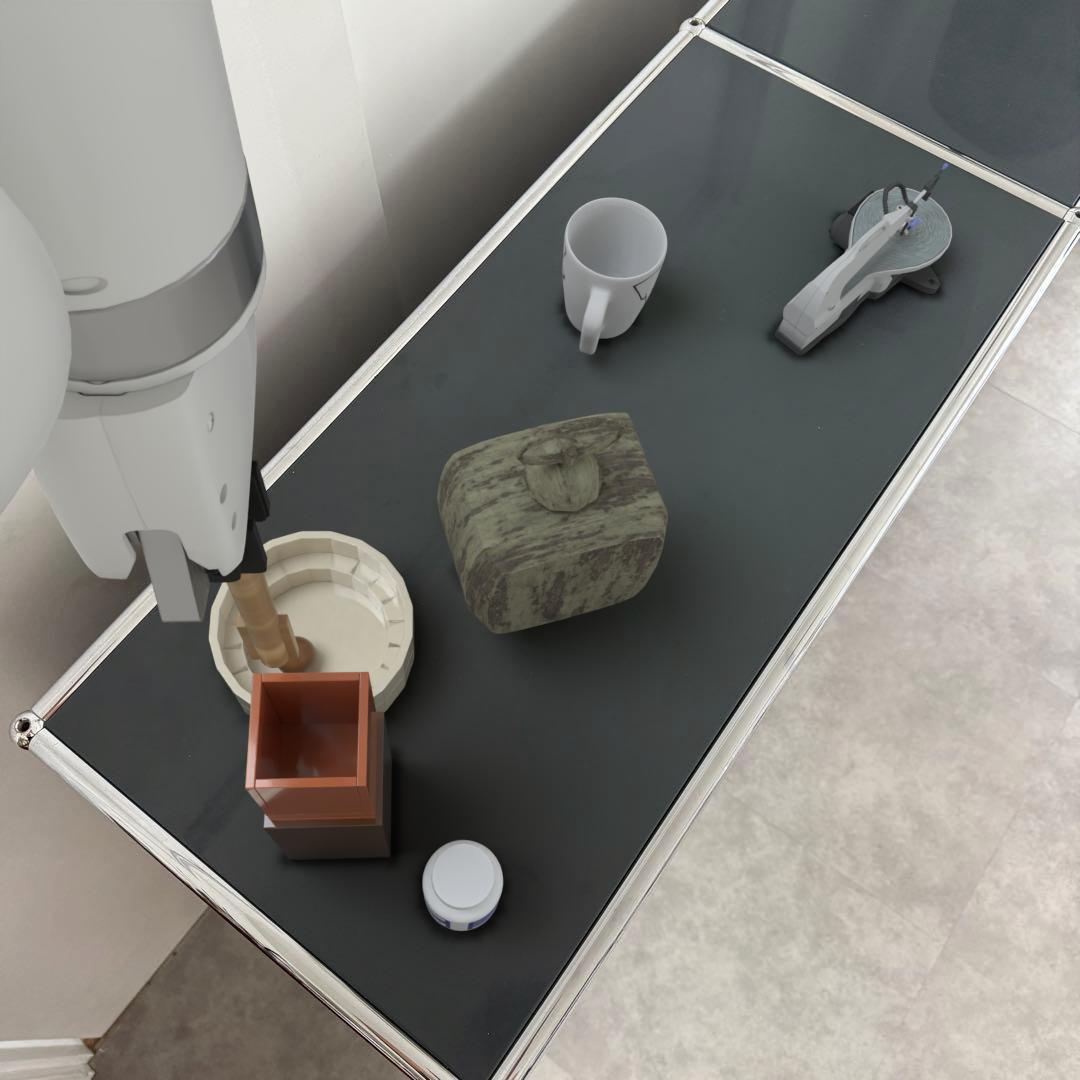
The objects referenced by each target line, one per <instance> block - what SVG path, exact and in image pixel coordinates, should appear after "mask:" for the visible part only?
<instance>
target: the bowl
mask: <svg viewBox="0 0 1080 1080" xmlns="http://www.w3.org/2000/svg"><path fill="white" fill-rule="evenodd" d="M263 546H264V549H265V552H266V555H267V571H266V572H264V575H265V578H266V581H267V584H268V587H269V590H270V592H271V595H272V598H273V601H274V604H275V607H276V610H277V612H278V615H279V614H287V615H288V617H289V620H290V623H291V626H292V629H293V632H294V635H295V636H301V637H304V638H306V639H308V640H309V641H310V642H311V643H312V644H313V645H314V647H315V649H316V653H317V659H316V663H315V665H314V667H313V668H312V670H311V671H310V672H309V673H315V672H359V673H360V672H369V676H370V681H371V687H372V692H373V697H374V703H375V708H376V712H384V713H385V712H386V711H387V710H388V709H390V707H391V705H392V704H393V703H394V701H395V700H396V698H398V697H399V695H400V694H401V692H402V691H403V690H404V688H405V687H406V684H407V681H408V678H409V675H410V673H411V669H412V666H413V665H414V661H415V620H414V618H415V617H414V605H413V602H412V599H411V597H410V594H409V591H408V588H407V585H406V582H405V580H404V578H403V576H402V575H401V574H400V573H399V571H398V570H397V569H396V567H395V566H394V565H393V563H392V562H391V561H390V560H389V558H388V557H387V556H386V555H385V554H383V553H382V552H380V551H379V550H377V549H376V548H375V547H373V546H371V545H370V544H368V543H367V542H365V541H364V540H362V539H359V538H357V537H352V536H349V535H346V534H343V533H338V532H335V531H331V530H301V531H298V532H294V533H290V534H287V535H284V536H279V537H277V538H273V539H269V541H266V542H265V543H263ZM237 616H241V615H240V613H239V610H238V608H237V606H236V604H235V601H234V599H233V597H232V595H231V592H230V590H229V588H228V585H227V583H221V585H220V587H219V589H218V592H217V594H216V596H215V599H214V601H213V603H212V605H211V609H210V617H209V627H208V642H209V645H210V650H211V653H212V656H213V661H214V665H215V667H216V670H217V672H218V673H219V675H220V677H221V679H223V681H224V683H225V684H226V687H227V688H228V690H229V692H231V694H232V696H233V697H234V698H235V700H236V701H237V702H238V704H239V705H240V707H241V709H242V710H243V712H244V713H246V715H248V716H249V717H250V707H251V692H252V677H253V673H262V674H263V673H282V672H281V671H280V670H279V668H269V667H267V666H265V665H264V664H263V663H262V662H261V660H251V658H250V656H249V653H248V651H247V649H246V647H245V645H244V643H243V640H242V638H241V636H240V634H239V632H238V630H237V627H236V618H237Z"/></svg>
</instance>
